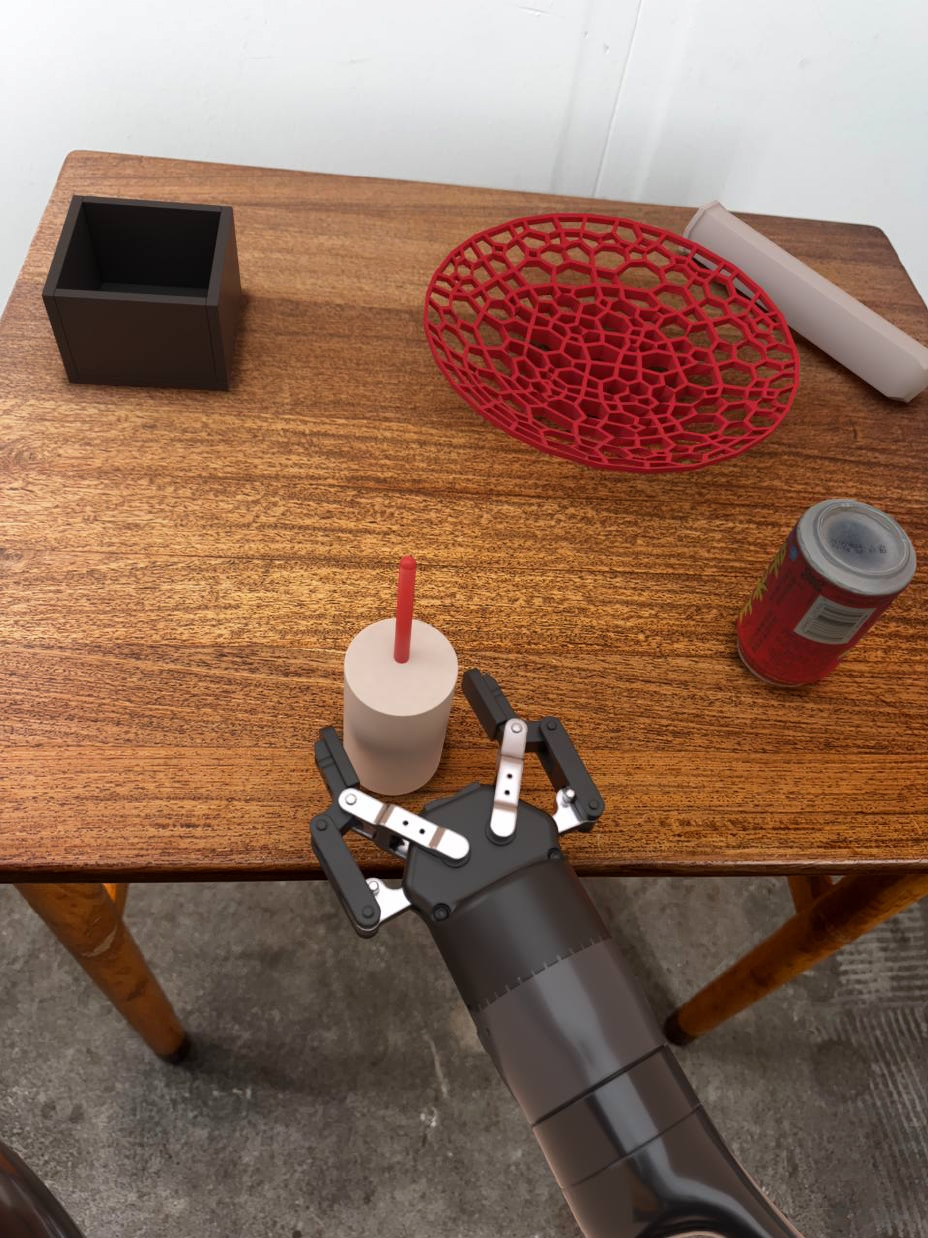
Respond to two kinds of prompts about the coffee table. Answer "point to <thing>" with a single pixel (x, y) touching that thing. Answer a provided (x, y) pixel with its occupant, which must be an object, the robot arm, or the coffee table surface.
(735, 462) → the coffee table surface
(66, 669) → the coffee table surface
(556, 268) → the bowl
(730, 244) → the tube
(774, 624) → the soda can
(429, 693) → the paper cup
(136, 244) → the bin
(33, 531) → the coffee table surface
